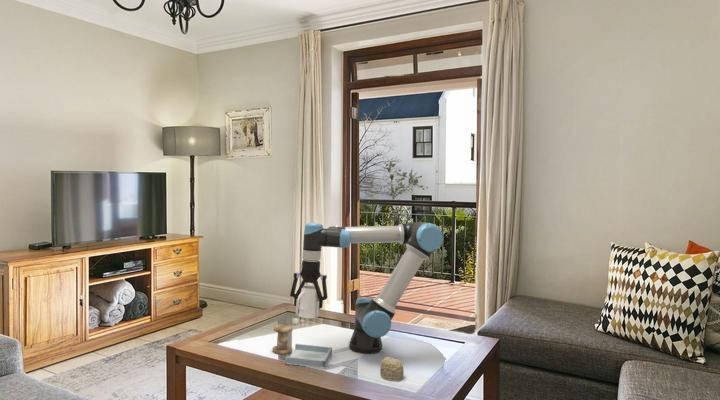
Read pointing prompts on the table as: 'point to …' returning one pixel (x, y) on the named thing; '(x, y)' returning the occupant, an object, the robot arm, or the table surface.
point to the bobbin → (282, 339)
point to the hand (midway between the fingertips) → (307, 314)
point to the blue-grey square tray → (310, 356)
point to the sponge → (391, 369)
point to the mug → (307, 302)
